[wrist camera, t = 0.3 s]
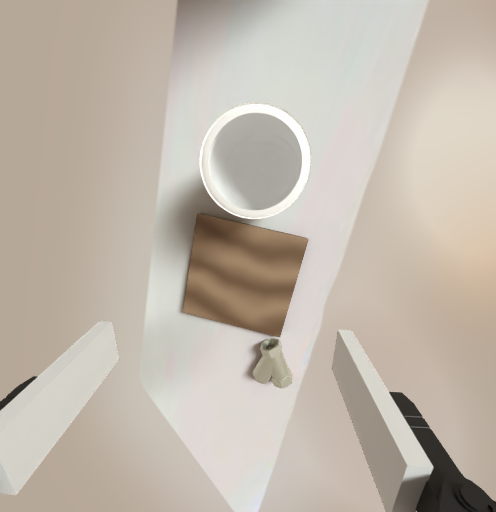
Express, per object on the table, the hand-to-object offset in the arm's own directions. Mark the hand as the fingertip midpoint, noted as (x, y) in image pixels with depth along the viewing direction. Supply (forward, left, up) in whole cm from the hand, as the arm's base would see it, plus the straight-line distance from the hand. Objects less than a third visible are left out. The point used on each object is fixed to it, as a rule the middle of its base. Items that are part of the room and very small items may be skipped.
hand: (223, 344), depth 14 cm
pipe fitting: (+21, +7, -27) cm, 35 cm away
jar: (-11, -2, -27) cm, 29 cm away
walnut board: (+6, -2, -27) cm, 27 cm away
